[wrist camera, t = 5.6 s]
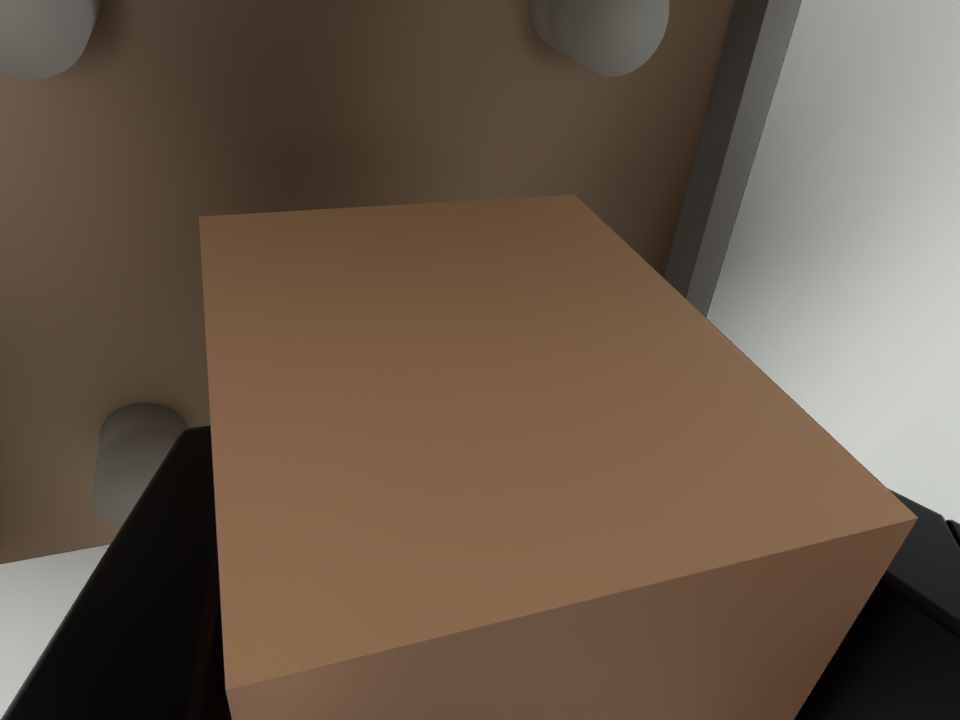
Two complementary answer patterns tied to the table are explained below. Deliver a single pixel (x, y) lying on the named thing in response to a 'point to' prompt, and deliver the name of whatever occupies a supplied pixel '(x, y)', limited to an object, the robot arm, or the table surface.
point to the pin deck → (314, 179)
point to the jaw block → (511, 479)
